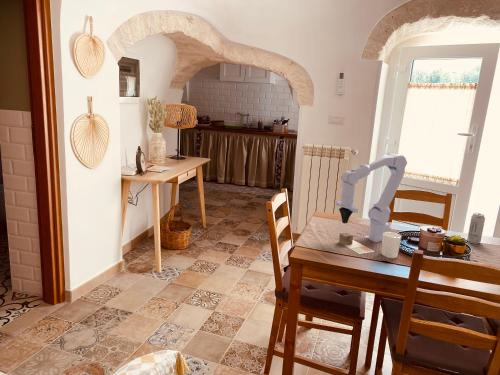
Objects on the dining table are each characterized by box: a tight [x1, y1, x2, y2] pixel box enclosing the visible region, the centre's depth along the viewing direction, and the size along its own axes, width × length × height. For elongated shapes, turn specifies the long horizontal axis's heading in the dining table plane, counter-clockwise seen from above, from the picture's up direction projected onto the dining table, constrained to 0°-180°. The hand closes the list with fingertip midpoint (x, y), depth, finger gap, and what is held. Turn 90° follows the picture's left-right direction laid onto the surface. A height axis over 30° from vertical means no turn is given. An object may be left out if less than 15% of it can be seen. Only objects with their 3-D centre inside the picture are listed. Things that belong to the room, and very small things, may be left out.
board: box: [338, 239, 376, 255], centre depth 181 cm, size 9×16×1 cm, turn 24°
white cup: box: [381, 231, 402, 259], centre depth 172 cm, size 8×8×10 cm
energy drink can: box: [467, 212, 486, 245], centre depth 195 cm, size 6×6×15 cm
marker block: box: [338, 232, 354, 246], centre depth 184 cm, size 4×4×4 cm
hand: (344, 222), depth 187 cm, fingers closed
